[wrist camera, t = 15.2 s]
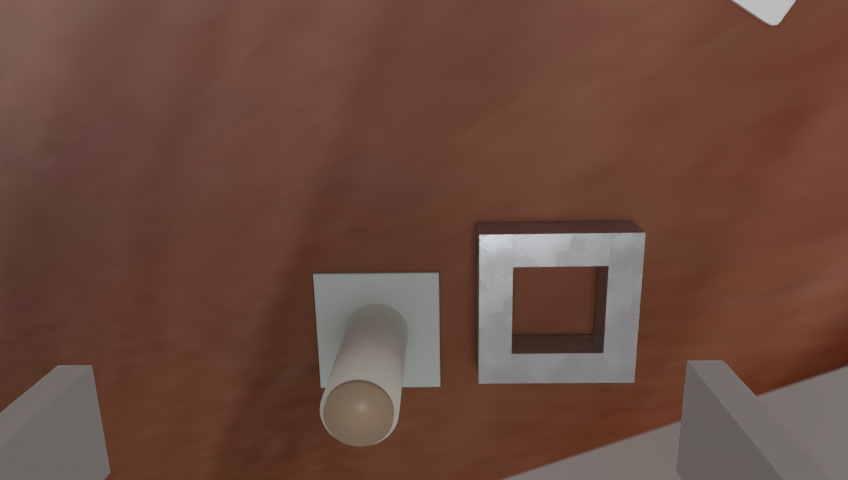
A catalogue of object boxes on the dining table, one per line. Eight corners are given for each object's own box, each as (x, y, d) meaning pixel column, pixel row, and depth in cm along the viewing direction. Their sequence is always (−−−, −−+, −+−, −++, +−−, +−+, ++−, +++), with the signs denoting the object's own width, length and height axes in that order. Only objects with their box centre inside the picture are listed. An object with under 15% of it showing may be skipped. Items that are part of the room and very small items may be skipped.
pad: (321, 385, 55) (321, 387, 55) (313, 273, 53) (313, 274, 52) (440, 385, 55) (440, 386, 55) (438, 271, 52) (438, 273, 52)
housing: (476, 363, 54) (478, 383, 51) (476, 222, 51) (479, 234, 48) (621, 362, 54) (634, 382, 51) (631, 220, 51) (645, 232, 47)
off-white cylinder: (348, 360, 54) (320, 450, 42) (345, 303, 53) (316, 379, 40) (408, 360, 54) (399, 450, 42) (407, 303, 53) (397, 378, 40)
